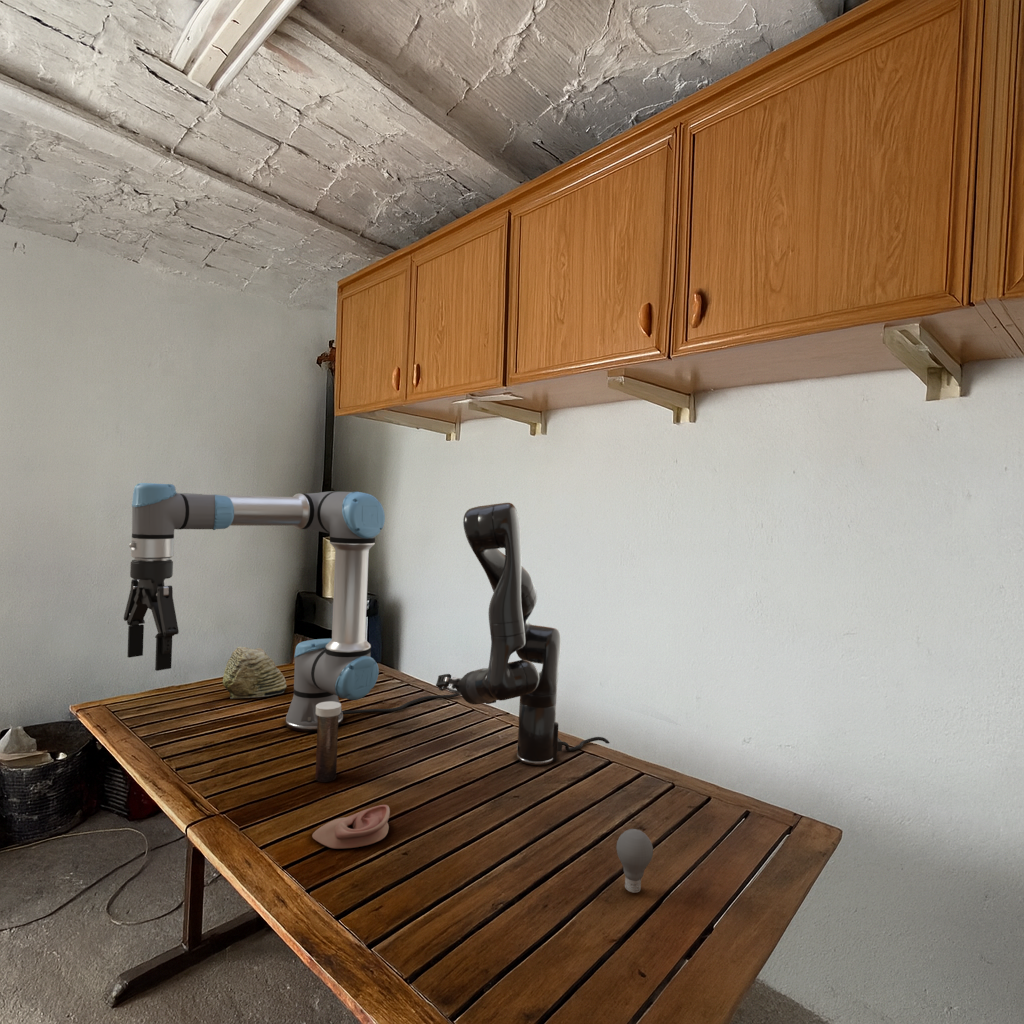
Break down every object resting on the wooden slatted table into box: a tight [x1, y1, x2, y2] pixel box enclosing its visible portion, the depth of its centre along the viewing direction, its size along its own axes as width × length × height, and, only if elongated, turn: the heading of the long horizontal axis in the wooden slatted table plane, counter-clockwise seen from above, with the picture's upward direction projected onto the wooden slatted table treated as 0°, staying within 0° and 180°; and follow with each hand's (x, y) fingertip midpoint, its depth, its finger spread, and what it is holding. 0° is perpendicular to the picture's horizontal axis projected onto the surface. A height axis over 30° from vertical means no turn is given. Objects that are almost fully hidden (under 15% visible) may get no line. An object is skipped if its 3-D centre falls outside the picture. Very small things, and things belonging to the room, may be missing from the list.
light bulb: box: [615, 828, 654, 894], centre depth 106 cm, size 6×6×10 cm
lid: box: [316, 701, 342, 717], centre depth 142 cm, size 6×6×2 cm
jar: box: [315, 715, 339, 783], centre depth 143 cm, size 4×4×16 cm
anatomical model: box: [311, 804, 391, 850], centre depth 119 cm, size 13×4×12 cm
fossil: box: [222, 646, 288, 699], centre depth 198 cm, size 9×18×15 cm, turn 132°
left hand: (148, 662), depth 129 cm, fingers open, 13 cm apart
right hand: (456, 691), depth 157 cm, fingers open, 8 cm apart
